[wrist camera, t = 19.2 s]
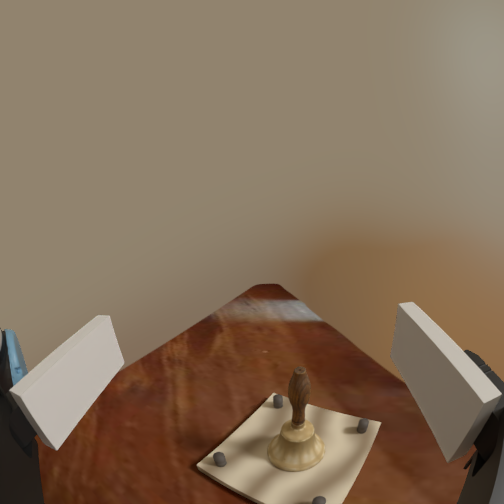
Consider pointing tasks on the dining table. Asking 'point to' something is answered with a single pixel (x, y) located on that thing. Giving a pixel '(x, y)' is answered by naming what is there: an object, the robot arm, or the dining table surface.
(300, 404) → the hand bell
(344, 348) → the dining table surface
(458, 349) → the robot arm
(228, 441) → the board
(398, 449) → the dining table surface
